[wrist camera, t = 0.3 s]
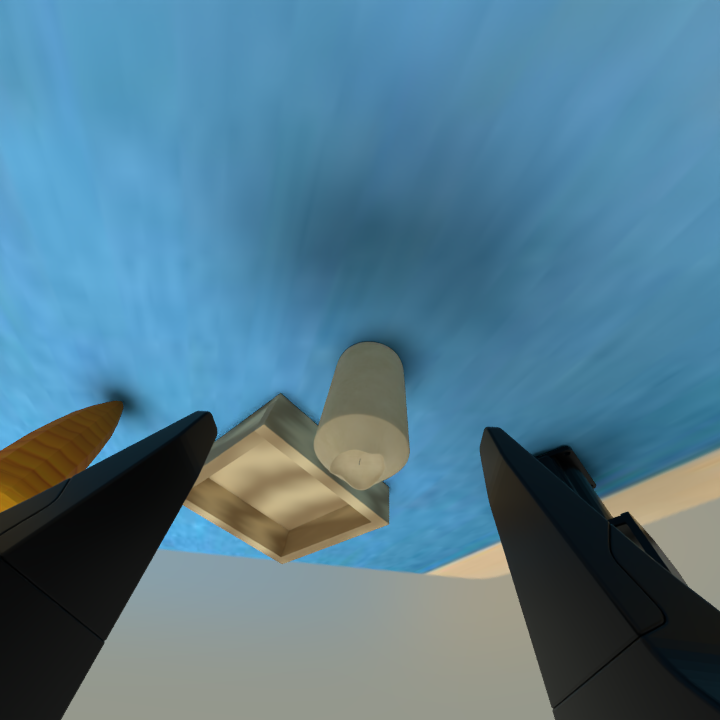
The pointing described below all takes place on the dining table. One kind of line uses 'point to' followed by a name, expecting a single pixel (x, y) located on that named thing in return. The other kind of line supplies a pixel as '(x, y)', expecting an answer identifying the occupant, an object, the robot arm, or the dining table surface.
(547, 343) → the dining table surface
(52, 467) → the carrot
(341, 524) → the box
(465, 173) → the dining table surface
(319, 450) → the candle
